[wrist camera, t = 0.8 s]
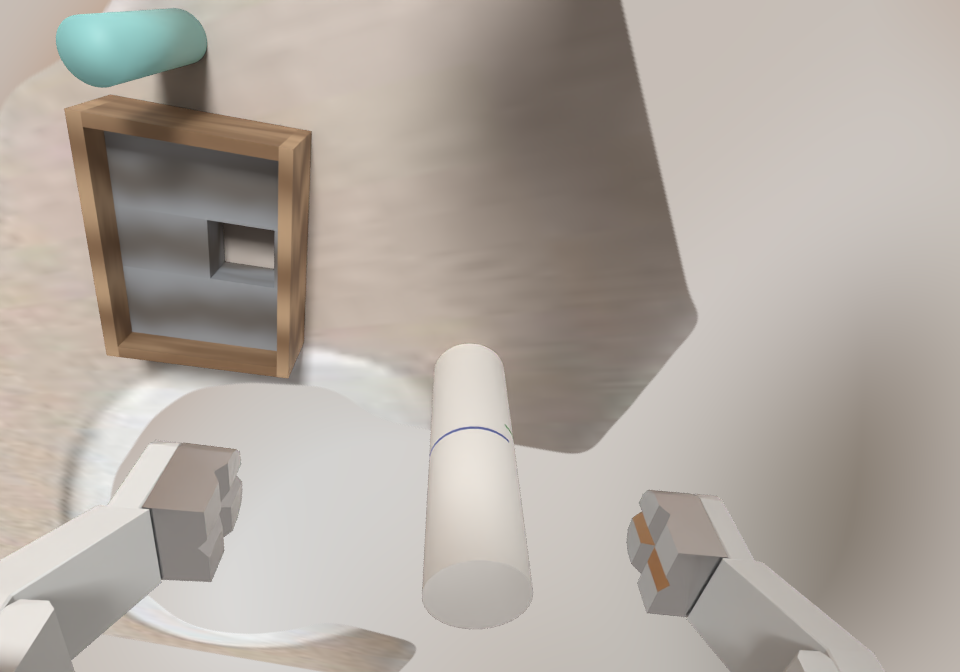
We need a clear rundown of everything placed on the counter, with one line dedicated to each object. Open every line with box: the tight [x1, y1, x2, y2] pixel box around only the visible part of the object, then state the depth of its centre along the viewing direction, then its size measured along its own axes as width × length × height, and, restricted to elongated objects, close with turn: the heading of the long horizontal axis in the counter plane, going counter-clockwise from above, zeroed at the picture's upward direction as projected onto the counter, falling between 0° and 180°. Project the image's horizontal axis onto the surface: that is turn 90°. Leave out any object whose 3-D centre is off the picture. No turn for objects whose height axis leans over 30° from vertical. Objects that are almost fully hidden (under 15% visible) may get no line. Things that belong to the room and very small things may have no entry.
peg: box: [56, 8, 207, 87], centre depth 36 cm, size 4×4×12 cm
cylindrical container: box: [422, 343, 533, 629], centre depth 47 cm, size 7×7×25 cm
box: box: [64, 95, 312, 378], centre depth 47 cm, size 20×15×6 cm
